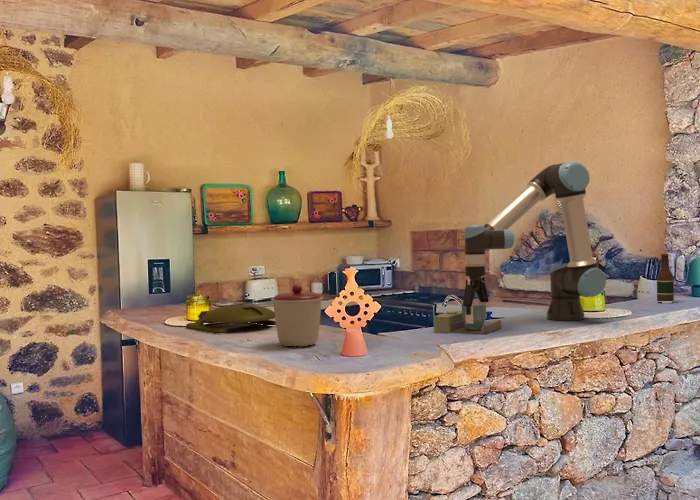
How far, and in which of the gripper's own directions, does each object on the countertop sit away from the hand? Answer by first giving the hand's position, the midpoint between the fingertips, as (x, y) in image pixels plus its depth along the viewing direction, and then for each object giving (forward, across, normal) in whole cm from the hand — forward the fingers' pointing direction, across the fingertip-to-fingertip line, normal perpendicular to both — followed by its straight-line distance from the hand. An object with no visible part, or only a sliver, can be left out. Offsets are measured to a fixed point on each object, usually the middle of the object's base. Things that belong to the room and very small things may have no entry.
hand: (476, 321), depth 267 cm
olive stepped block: (+4, 0, -10) cm, 11 cm away
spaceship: (+4, +29, -95) cm, 99 cm away
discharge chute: (+4, 0, 0) cm, 4 cm away
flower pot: (+3, +2, 0) cm, 4 cm away
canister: (+4, +55, -44) cm, 71 cm away
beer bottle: (+4, -120, +51) cm, 130 cm away
